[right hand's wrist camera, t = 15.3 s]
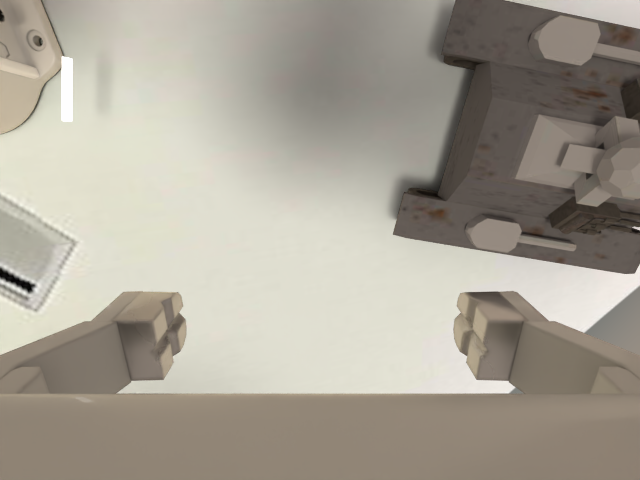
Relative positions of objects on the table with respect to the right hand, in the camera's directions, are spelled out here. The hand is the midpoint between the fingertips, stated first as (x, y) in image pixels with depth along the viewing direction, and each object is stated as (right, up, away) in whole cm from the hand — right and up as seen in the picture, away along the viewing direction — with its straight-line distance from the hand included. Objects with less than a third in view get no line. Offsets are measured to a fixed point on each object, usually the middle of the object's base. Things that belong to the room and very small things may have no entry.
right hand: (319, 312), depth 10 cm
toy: (+21, +12, +25) cm, 35 cm away
